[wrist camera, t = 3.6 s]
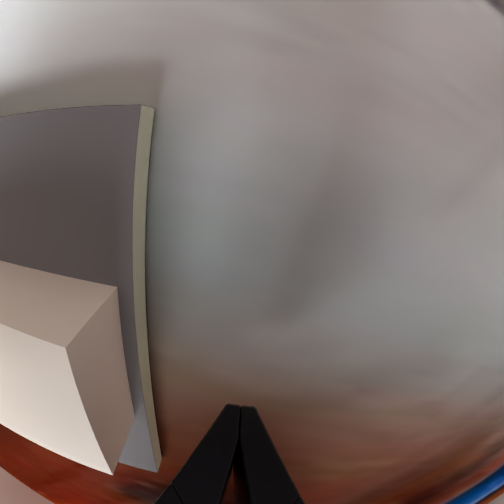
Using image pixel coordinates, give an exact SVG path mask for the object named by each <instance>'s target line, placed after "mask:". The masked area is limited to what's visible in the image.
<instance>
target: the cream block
mask: <svg viewBox="0 0 504 504" xmlns="http://www.w3.org/2000/svg"><path fill="white" fill-rule="evenodd" d="M134 419H135V414H134V409H133V404H132V399H131V393H130V388H129V382H128V376H127V370H126V363H125V356H124V349H123V341H122V333H121V323H120V313H119V302H118V288H117V287H115V286H110V285H105V284H100V283H95V282H90V281H85V280H81V279H76V278H71V277H67V276H62V275H58V274H53V273H49V272H45V271H41V270H36V269H32V268H28V267H24V266H20V265H16V264H12V263H8V262H4V261H1V260H0V423H1V424H2V425H4V426H5V427H7V428H9V429H11V430H12V431H14V432H16V433H18V434H19V435H21V436H23V437H25V438H27V439H29V440H30V441H32V442H34V443H36V444H38V445H40V446H42V447H44V448H46V449H48V450H51V451H53V452H55V453H57V454H59V455H61V456H64V457H66V458H68V459H71V460H73V461H76V462H78V463H81V464H83V465H86V466H88V467H91V468H94V469H96V470H99V471H102V472H105V473H108V474H111V475H113V473H114V470H115V468H116V465H117V462H118V460H119V457H120V455H121V452H122V449H123V447H124V444H125V442H126V439H127V436H128V434H129V431H130V429H131V426H132V424H133V421H134Z"/></svg>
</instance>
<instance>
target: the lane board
mask: <svg viewBox="0 0 504 504" xmlns="http://www.w3.org/2000/svg"><path fill="white" fill-rule="evenodd" d="M154 110H155V109H154V108H151V107H147V106H143V105H141V113H140V121H139V130H138V140H137V151H136V163H135V178H134V197H133V289H134V309H135V324H136V336H137V347H138V357H139V366H140V374H141V382H142V389H143V396H144V403H145V409H146V415H147V421H148V427H149V432H150V438H151V443H152V448H153V453H154V457H155V462H156V466H157V471H158V470H159V466H160V463H161V459H162V456H161V451H160V445H159V439H158V432H157V425H156V418H155V411H154V403H153V395H152V386H151V376H150V365H149V353H148V339H147V322H146V298H145V225H146V200H147V183H148V169H149V157H150V146H151V136H152V127H153V118H154Z"/></svg>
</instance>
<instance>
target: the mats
mask: <svg viewBox="0 0 504 504" xmlns="http://www.w3.org/2000/svg"><path fill="white" fill-rule="evenodd" d="M140 113H141V105H106V106H87V107H73V108H62V109H52V110H44V111H36V112H29V113H22V114H16V115H10V116H4V117H0V260H1V261H4V262H8V263H12V264H16V265H20V266H24V267H28V268H32V269H36V270H41V271H45V272H49V273H53V274H58V275H62V276H67V277H71V278H76V279H81V280H85V281H90V282H95V283H100V284H105V285H110V286H115V287H117V288H118V302H119V313H120V323H121V333H122V341H123V349H124V356H125V363H126V370H127V376H128V382H129V388H130V393H131V399H132V404H133V409H134V414H135V419H134V421H133V424H132V426H131V429H130V431H129V434H128V436H127V439H126V442H125V444H124V447H123V449H122V452H121V455H120V457H119V460H118V462H119V463H123V464H126V465H130V466H133V467H137V468H140V469H144V470H148V471H152V472H156V473H158V471H157V466H156V462H155V457H154V453H153V448H152V443H151V438H150V432H149V427H148V421H147V415H146V409H145V403H144V396H143V389H142V382H141V374H140V366H139V357H138V347H137V336H136V324H135V309H134V289H133V197H134V178H135V163H136V151H137V140H138V130H139V121H140Z"/></svg>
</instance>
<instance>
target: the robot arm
mask: <svg viewBox="0 0 504 504" xmlns="http://www.w3.org/2000/svg"><path fill="white" fill-rule="evenodd" d="M232 467H233V497H234V504H305V503H304V501H303V499H302V497H299V496H300V494H299V492H298V490H297V489H296V487H295V485H294V483H293V481H292V479H291V477H290V475H289V474H288V472H287V470H286V468H285V466H284V464H283V462H282V460H281V458H280V456H279V454H278V452H277V450H276V448H275V446H274V444H273V442H272V440H271V438H270V436H269V434H268V432H267V430H266V428H265V426H264V424H263V422H262V420H261V418H260V416H259V414H258V412H257V410H256V408H255V407H253V406H241V407H240V405H236V404H226V405H225V407H224V408H223V410H222V411H221V413H220V414H219V416H218V417H217V419H216V420H215V422H214V423H213V424H212V426H211V427H210V429H209V430H208V432H207V433H206V435H205V436H204V437H203V439H202V440H201V442H200V443H199V444H198V446H197V447H196V449H195V450H194V451H193V453H192V454H191V456H190V457H189V458H188V460H187V461H186V462H185V464H184V465H183V467H182V468H181V469H180V471H179V472H178V473H177V475H176V476H175V477H174V479H173V480H172V481H171V484H169V485H168V486H167V488H166V489H165V490H164V492H163V493H162V494H161V495H160V496H159V498H158V499H157V500H156V501H155V502H154V503H153V504H223V501H224V498H225V494H226V490H227V487H228V483H229V479H230V476H231V471H232Z"/></svg>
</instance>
